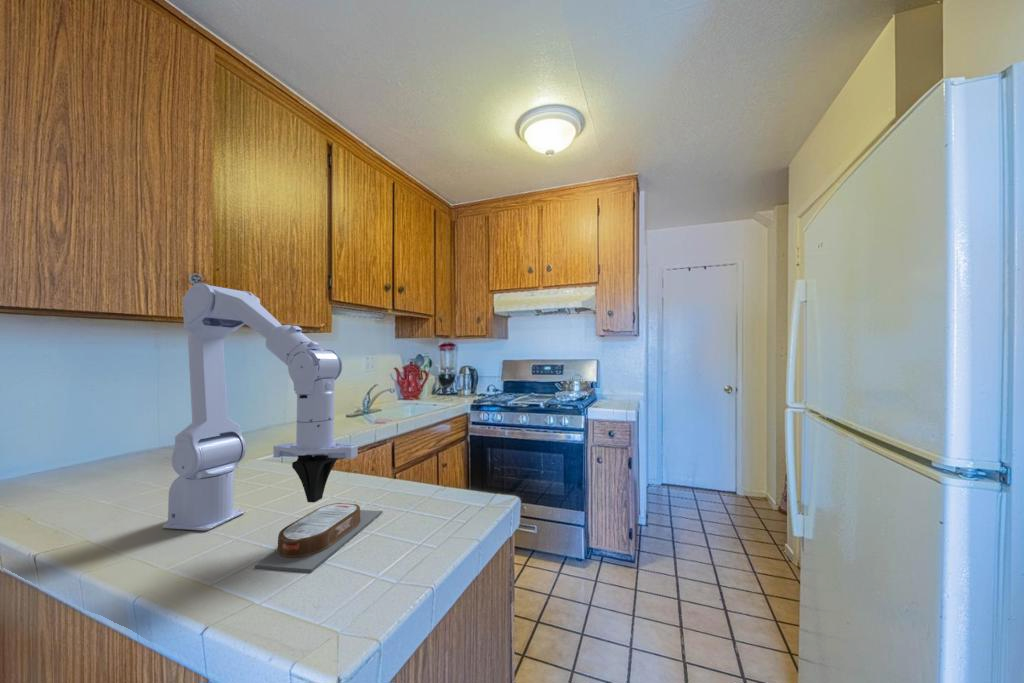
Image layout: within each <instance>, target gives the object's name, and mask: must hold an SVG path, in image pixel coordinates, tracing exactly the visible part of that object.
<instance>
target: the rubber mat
mask: <svg viewBox="0 0 1024 683" xmlns="http://www.w3.org/2000/svg"><path fill="white" fill-rule="evenodd" d="M381 513H382V514H383V510H370V509H369V510H368V509H366V510H365V509H360V519H361V522H360V524H359V525H358V526H357V527H355V528H354V529H353V530H351V531H350V532H349V533H347V534H346V535H345V536H343V537H342V538H341V539H339V540H338V541H337V542H335V543H334V544H333V545H331V546H330V547H328V548H327V549H325V550H323V551H320V552H318V553H315V554H312V555H309V556H303V557H296V558H288V557H283V556H280V555H279V554H278V553H277V550H274V551H273V552H272V553H271V554H269V555H268V556H266V557H264V558H263V559H262V560H260V561H259V562H257V563H255V564H254V569H262V570H263V569H264V570H277V571H279V570H280V571H290V572H302V573H303V572H304V573H312V572H314V571H315V570H316V569H317V568H319V567H320V566H321V565H322V564H323V563H324V562H326V561H327V560H328V559H329V558H330V557H332V556H333V555H334V554H335V553H336V552H338V551H339V550H340V549H341V548H342V547H344V546H345V545H346V544H347V543H349V542H350V541H351V540H352V539H353V538H355V537H356V536H357V535H358V534H359V533H361V532H362V531H363V530H364V529H365V528H366V527H368V526H369V525H370V524H372V523H373V520H374V519H375V518H376V519H377V518H379V517H380V516H381V515H382V514H381ZM380 514H381V515H380ZM379 515H380V516H379ZM376 519H375V520H376ZM375 520H374V521H375Z"/></svg>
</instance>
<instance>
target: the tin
mask: <svg viewBox="0 0 1024 683" xmlns="http://www.w3.org/2000/svg"><path fill="white" fill-rule="evenodd" d="M360 510H361V507H360V505H359V504H357V503H342V502H336V503H331V504H327V505H324V506H321V507H318V508H317V509H315V510H312V511H311V512H309V513H307V514H306V515H304V516H303V517H300V518H298V519H297V520H295V521H293V522H292V523H290V524H288V525H287V526H285V527H283V528H282V529H281V530H280V531H279V532H278V536H277V548H276V551H277V553H278V554H279V555H280V556H283V557H288V558H296V557H303V556H309V555H312V554H315V553H318V552H320V551H323V550H325V549H327V548H328V547H330V546H331V545H333V544H334V543H335V542H337V541H338V540H339V539H341V538H342V537H343V536H345V535H346V534H347V533H349V532H350V531H351V530H353V529H354V528H355V527H357V526H358V525H359V524H360V522H361V519H360Z"/></svg>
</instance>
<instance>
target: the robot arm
mask: <svg viewBox="0 0 1024 683" xmlns="http://www.w3.org/2000/svg"><path fill="white" fill-rule="evenodd" d="M182 312H183V313H182V314H183V315H182V316H183V328H184V329H185V330H187V348H188V363H189V364H188V365H189V384H190V385H189V386H190V404H191V406H190V407H191V408H190V409H191V423H190V424H189V425H188V426H186V427H184V428H183V430H181V431H180V432H179V433H178V434H177V435H176V436H175V437H174V442H175V443H174V447H173V448H174V449H173V452H172V455H171V465H172V469H173V470H174V472H175V473H177V475H179V476H177V477H176V478H175V479H174V480H173V482H172V483H171V485H170V487H169V490H168V505H167V506H168V507H167V523H165V524H162V528H163V529H173V530H190V531H191V530H192V531H210V530H211V529H214V528H216V527H218V526H219V525H222V524H224V523H226V522H229V521H231V520H233V519H235V518H236V517H238V516H241V515H243V514H245V513H246V510H245V509H234V500H235V499H234V497H235V493H234V492H235V491H234V489H235V469H237V468H239V463H241V461H242V460H244V457H245V454H246V451H247V444H246V441H245V439H244V437H243V435H242V426H241V425H240V424H238V423H237V422H235V421H233V420H231V419H230V418H229V414H228V412H229V411H228V399H227V398H228V396H227V395H228V394H227V380H226V379H227V378H226V366H225V363H226V362H225V361H226V360H225V348H224V340H225V338H226V337H227V336H228V334H231V333H234V332H236V331H237V330H239V329H240V328H241V327H243V326H245V325H246V326H248V327H250V329H252V330H253V331H255V332H256V333H257V334H259V335H261V337H263V338H264V339H266V340H265V347H266V349H267V350H268V351H269V352H271V354H273V355H274V356H275V357H276V358H278V359H279V360H280V361H282V362H283V364H285V365H286V366H287V368H288V369H287V370H288V374H289V377H290V378H291V380H292V382H293V391H294V393H295V394H296V438H295V439H296V442H294V443H293V442H292V443H280V444H277V445H274V446H273V458H281V457H293V458H294V457H295V458H296V457H297V459H296V460H295V461H293V462H291V466H292V467H291V468H292V469H293V470H294V471H295V473H296V475H297V476H298V478H299V479H300V482H301V484H302V488H303V490H304V494H305V498H306V501H307V503H316V502H319V501H320V500H322V499H323V495H324V493H325V492H324V491H325V487H326V484H327V481H328V479H329V475H330V474H331V471H332V470H333V467H334V466H335V464H336V462H337V460H338V459H346V460H353V459H355V458H358V457H359V456H358V452H359V451H358V450H359V449H358V448H359V447H358V444H347V443H340V442H335V381H336V380H337V379H338V378H340V375H342V374H341V373H342V370H343V363H342V359H341V357H340V356H339V354H338V353H337V351H335V350H334V349H323V348H321V347H320V344H319V343H318V342H317V341H312V340H311V339H310V338H309V337H308V336H306V334H304V333H303V332H302V331H303V328H302V327H301V326H298V325H291V324H282V323H280V322H279V321H278V320H277V318H275V316H274V315H272V314H271V313H270V312H269V311H268V310H267V308H265V307H264V306H263V305H262V304H261V298H260V297H257V296H256V295H255V294H254V293H252V292H251V291H247V290H239V289H233V288H227V287H221V286H217V285H216V286H215V285H209V284H207V283H204V282H197V283H194V284H193V285H192V286H191V287H189V289H188V290H187V291H186V293H185V294H184V296H182ZM209 436H210V437H209Z"/></svg>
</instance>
